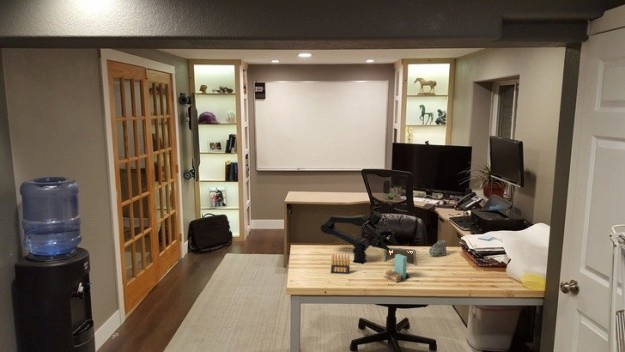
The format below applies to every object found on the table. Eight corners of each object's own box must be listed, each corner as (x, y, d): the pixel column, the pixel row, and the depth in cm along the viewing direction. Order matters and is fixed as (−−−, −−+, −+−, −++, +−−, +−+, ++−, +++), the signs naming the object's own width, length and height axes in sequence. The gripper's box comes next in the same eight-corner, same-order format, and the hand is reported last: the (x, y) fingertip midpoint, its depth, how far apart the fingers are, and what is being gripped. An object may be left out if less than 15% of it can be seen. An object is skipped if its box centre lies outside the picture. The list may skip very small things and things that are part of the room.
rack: (383, 278, 240) (383, 273, 239) (396, 273, 247) (396, 268, 246) (397, 284, 232) (397, 279, 232) (410, 279, 239) (411, 274, 239)
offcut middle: (384, 275, 239) (384, 273, 239) (389, 273, 242) (389, 271, 242) (396, 279, 233) (396, 277, 233) (400, 278, 236) (401, 275, 236)
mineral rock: (429, 257, 273) (430, 242, 271) (424, 251, 283) (425, 237, 282) (449, 257, 273) (450, 242, 271) (444, 251, 284) (445, 237, 282)
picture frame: (383, 262, 262) (385, 245, 291) (383, 264, 262) (385, 248, 291) (415, 264, 258) (414, 248, 287) (415, 267, 258) (414, 250, 287)
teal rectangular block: (394, 275, 242) (394, 255, 240) (397, 274, 244) (398, 253, 242) (402, 278, 238) (403, 258, 236) (405, 277, 240) (407, 256, 237)
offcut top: (385, 273, 238) (386, 271, 238) (390, 271, 241) (390, 269, 241) (397, 278, 232) (397, 276, 232) (402, 276, 235) (402, 274, 235)
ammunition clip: (349, 272, 248) (350, 253, 246) (349, 274, 246) (350, 254, 244) (330, 272, 249) (331, 252, 246) (330, 273, 247) (331, 253, 245)
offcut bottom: (385, 277, 239) (385, 275, 239) (390, 275, 242) (390, 273, 241) (396, 282, 233) (396, 280, 233) (401, 280, 236) (401, 278, 235)
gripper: (370, 224, 246) (391, 242, 238) (387, 216, 259) (407, 232, 252) (362, 238, 251) (382, 256, 244) (380, 230, 265) (399, 246, 258)
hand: (393, 247), depth 249 cm, fingers open, 9 cm apart
